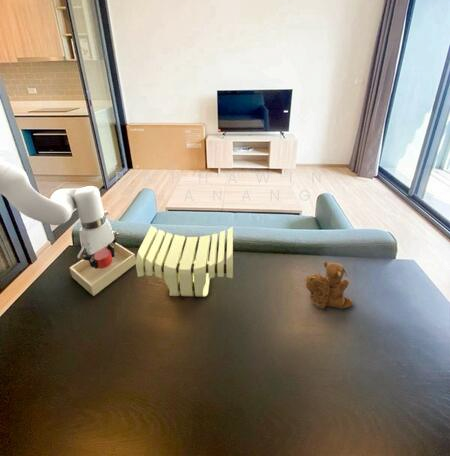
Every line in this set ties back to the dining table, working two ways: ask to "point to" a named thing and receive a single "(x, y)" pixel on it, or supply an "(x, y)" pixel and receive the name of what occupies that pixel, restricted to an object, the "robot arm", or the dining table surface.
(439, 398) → the dining table surface
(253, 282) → the dining table surface
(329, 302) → the stuffed squirrel
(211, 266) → the slatted curved stool
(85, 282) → the bin
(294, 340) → the dining table surface
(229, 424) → the dining table surface
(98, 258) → the disc
